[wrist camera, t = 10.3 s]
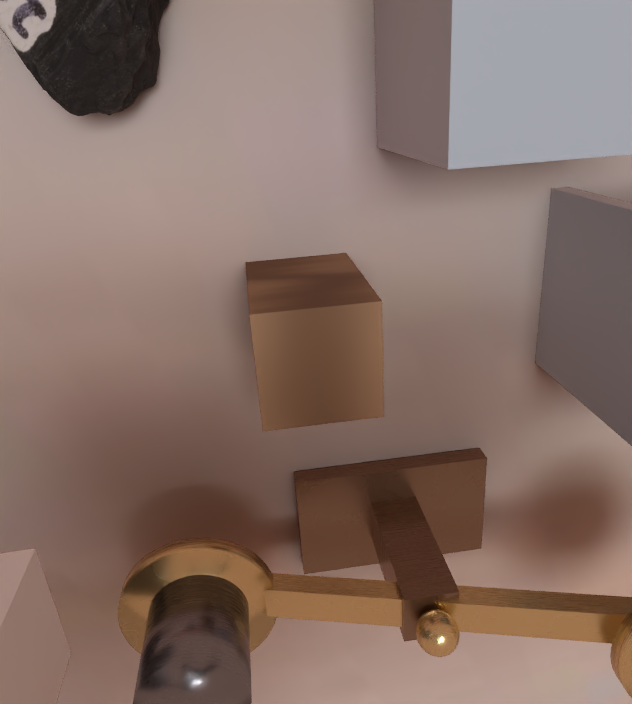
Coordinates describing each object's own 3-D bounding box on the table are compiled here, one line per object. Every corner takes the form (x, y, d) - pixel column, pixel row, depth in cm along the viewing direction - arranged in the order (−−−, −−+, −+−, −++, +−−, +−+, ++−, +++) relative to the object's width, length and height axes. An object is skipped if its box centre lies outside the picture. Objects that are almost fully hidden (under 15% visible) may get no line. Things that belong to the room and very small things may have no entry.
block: (256, 355, 28) (262, 431, 21) (245, 262, 26) (249, 315, 19) (349, 345, 28) (384, 416, 22) (346, 252, 26) (381, 301, 20)
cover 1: (376, 147, 25) (447, 169, 16) (371, -104, 21) (458, -234, 13) (571, 131, 25) (731, 146, 17) (596, -112, 22) (812, -240, 14)
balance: (149, 589, 32) (111, 813, 22) (125, 485, 29) (67, 685, 19) (612, 523, 35) (768, 697, 25) (630, 420, 32) (814, 569, 22)
